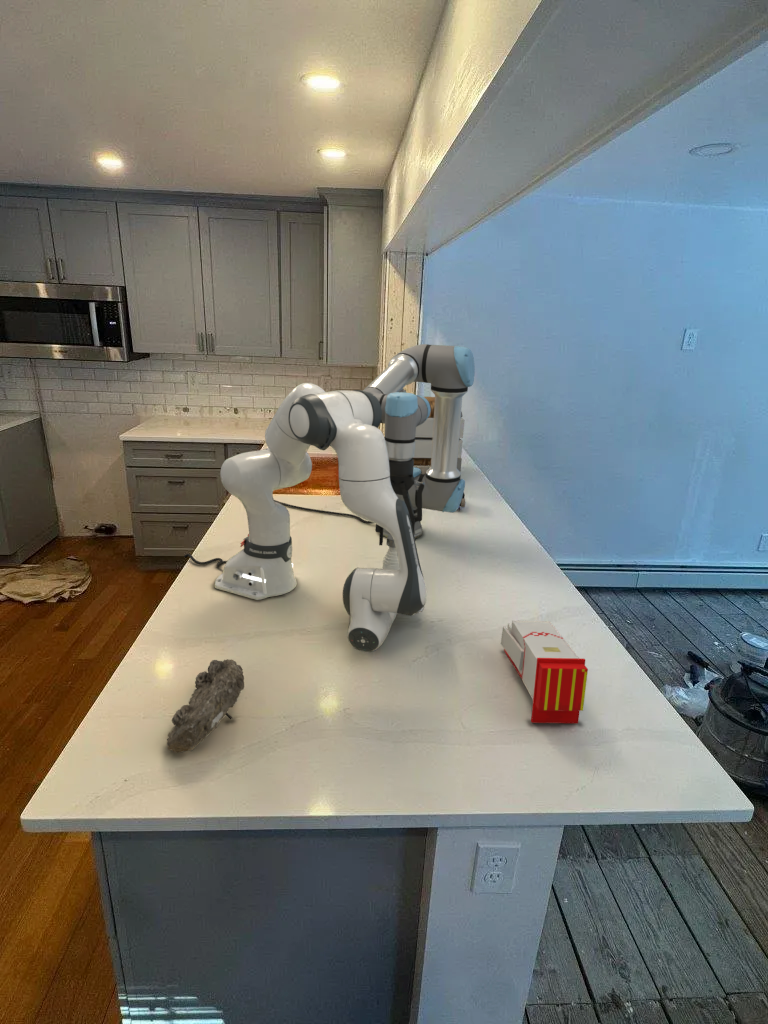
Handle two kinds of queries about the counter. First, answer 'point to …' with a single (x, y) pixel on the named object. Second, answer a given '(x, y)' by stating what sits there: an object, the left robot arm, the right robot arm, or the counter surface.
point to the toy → (547, 670)
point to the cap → (390, 541)
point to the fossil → (206, 705)
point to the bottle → (391, 560)
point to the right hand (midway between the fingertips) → (394, 544)
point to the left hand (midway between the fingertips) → (392, 582)
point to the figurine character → (462, 502)
